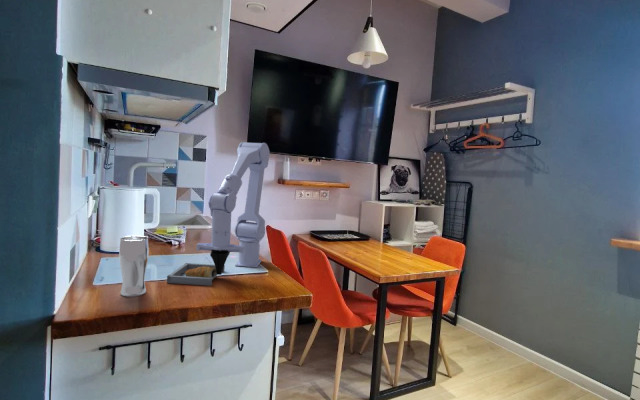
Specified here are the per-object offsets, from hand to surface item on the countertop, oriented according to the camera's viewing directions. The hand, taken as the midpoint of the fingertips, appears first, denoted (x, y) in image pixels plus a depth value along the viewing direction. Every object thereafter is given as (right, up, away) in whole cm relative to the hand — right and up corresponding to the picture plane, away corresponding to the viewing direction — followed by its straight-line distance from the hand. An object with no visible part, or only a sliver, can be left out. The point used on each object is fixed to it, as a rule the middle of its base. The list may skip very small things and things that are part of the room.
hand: (219, 273), depth 115 cm
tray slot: (-6, -1, 0) cm, 7 cm away
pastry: (-5, -1, -1) cm, 5 cm away
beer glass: (-19, -2, -17) cm, 25 cm away
